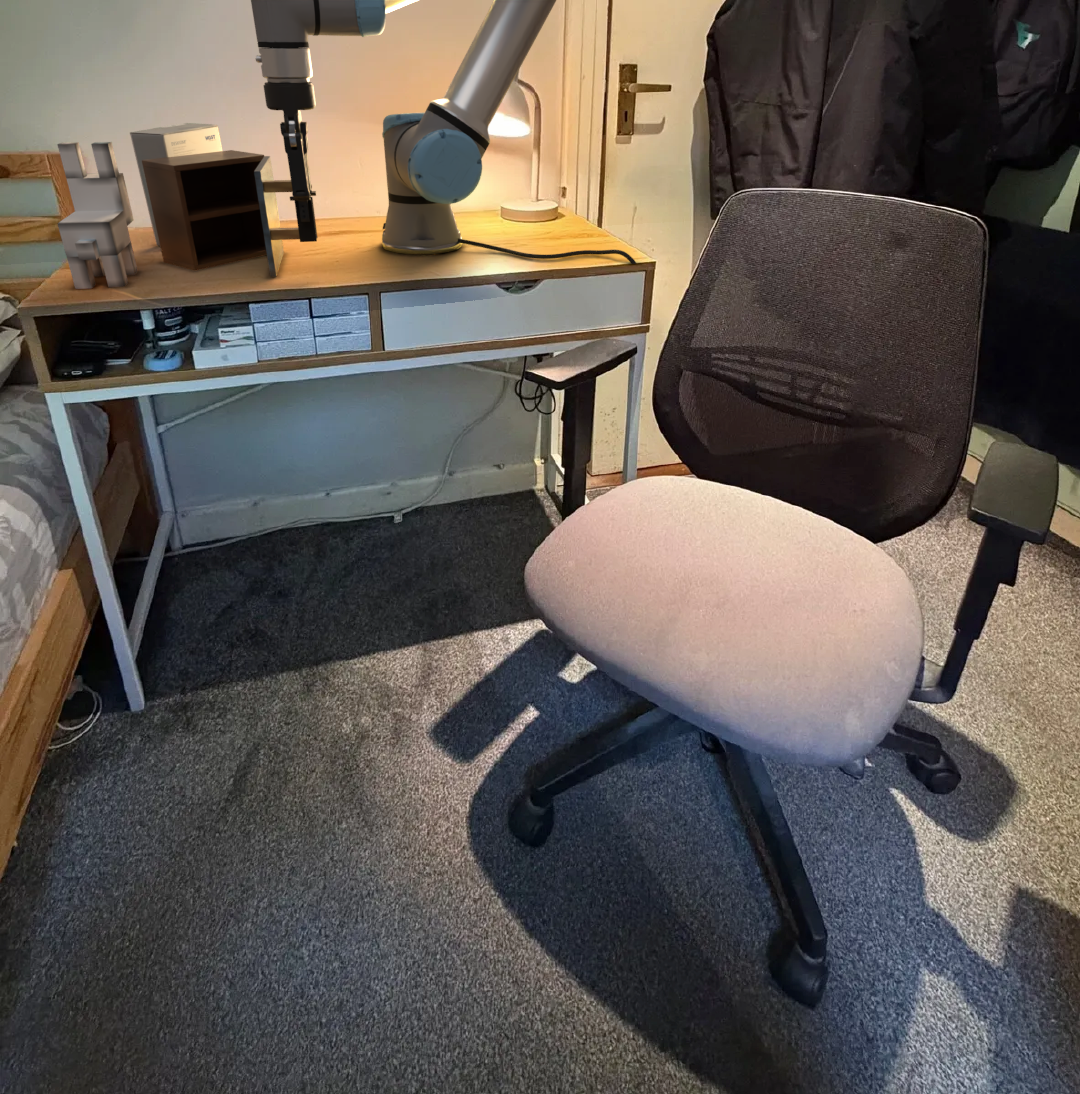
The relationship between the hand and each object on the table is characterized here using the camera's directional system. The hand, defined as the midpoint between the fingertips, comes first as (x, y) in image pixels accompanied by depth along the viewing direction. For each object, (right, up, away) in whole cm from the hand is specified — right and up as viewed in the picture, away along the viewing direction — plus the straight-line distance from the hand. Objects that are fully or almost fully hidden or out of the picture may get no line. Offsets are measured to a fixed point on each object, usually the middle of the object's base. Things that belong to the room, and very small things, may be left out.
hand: (308, 239), depth 142 cm
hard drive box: (-29, +9, +24) cm, 39 cm away
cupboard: (-19, +1, +12) cm, 22 cm away
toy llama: (-33, -7, -1) cm, 34 cm away
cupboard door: (-4, -1, +8) cm, 9 cm away
